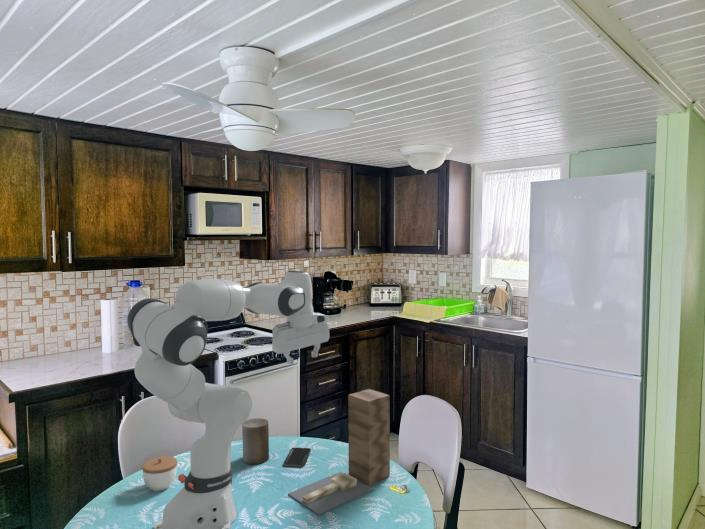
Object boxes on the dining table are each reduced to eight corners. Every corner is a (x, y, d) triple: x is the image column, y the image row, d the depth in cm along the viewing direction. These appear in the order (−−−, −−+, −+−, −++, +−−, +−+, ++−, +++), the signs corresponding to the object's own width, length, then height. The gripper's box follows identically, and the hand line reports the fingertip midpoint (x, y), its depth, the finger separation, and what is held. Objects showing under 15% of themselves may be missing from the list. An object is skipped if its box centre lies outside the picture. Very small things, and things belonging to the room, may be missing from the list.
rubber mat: (319, 515, 140) (319, 513, 140) (288, 494, 152) (288, 493, 152) (372, 490, 155) (372, 488, 155) (340, 473, 167) (340, 471, 167)
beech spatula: (311, 506, 144) (311, 499, 144) (299, 498, 149) (299, 492, 149) (356, 484, 157) (356, 478, 157) (344, 478, 162) (344, 472, 162)
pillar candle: (274, 457, 180) (273, 417, 179) (256, 466, 171) (255, 425, 171) (255, 451, 185) (254, 413, 185) (236, 461, 177) (236, 420, 176)
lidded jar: (177, 476, 165) (177, 449, 164) (177, 491, 155) (177, 462, 154) (143, 481, 161) (143, 454, 161) (141, 497, 151) (140, 467, 151)
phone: (282, 464, 172) (291, 447, 187) (282, 467, 172) (291, 450, 187) (304, 465, 171) (311, 448, 186) (304, 468, 171) (311, 451, 186)
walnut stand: (368, 485, 158) (368, 401, 157) (348, 475, 165) (348, 394, 164) (389, 476, 164) (389, 395, 163) (369, 466, 172) (369, 388, 171)
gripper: (277, 327, 147) (279, 370, 149) (331, 315, 160) (333, 355, 161) (267, 323, 152) (270, 365, 154) (320, 312, 164) (322, 351, 166)
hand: (302, 360), depth 158 cm, fingers open, 8 cm apart
